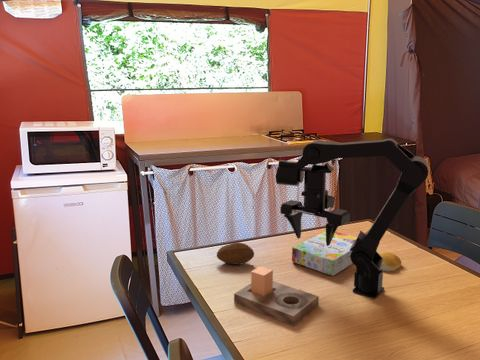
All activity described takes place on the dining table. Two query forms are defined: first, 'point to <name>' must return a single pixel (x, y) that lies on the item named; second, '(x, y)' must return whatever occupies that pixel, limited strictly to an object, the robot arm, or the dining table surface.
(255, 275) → the square peg
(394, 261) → the bread roll
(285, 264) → the dining table surface
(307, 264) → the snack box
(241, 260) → the potato
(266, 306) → the socket board
